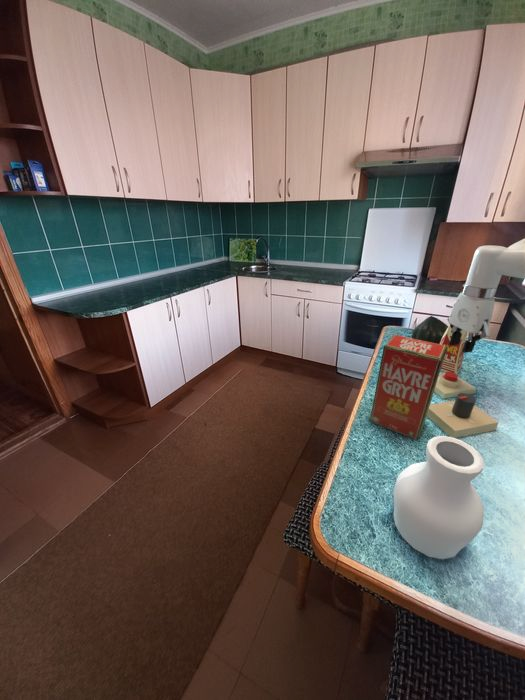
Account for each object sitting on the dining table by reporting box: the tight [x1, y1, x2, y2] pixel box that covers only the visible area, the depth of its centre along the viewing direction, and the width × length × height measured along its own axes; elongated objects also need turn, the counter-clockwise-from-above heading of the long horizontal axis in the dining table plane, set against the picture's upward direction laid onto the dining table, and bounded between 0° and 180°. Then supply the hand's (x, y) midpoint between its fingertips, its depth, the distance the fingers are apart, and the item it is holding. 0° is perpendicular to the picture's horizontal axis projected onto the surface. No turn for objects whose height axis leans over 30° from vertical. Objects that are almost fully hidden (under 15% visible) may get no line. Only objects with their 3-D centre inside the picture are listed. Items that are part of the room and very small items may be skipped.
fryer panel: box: [426, 400, 500, 439], centre depth 83 cm, size 14×11×3 cm
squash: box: [411, 315, 449, 344], centre depth 121 cm, size 14×15×15 cm
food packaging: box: [369, 334, 447, 441], centre depth 78 cm, size 13×9×25 cm
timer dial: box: [452, 393, 477, 418], centre depth 81 cm, size 4×4×6 cm
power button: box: [444, 372, 459, 382], centre depth 96 cm, size 4×4×2 cm
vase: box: [392, 435, 485, 560], centre depth 52 cm, size 14×14×20 cm
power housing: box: [434, 372, 477, 400], centre depth 97 cm, size 12×10×4 cm
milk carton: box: [440, 324, 468, 375], centre depth 106 cm, size 9×9×20 cm
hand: (460, 347), depth 91 cm, fingers open, 4 cm apart
